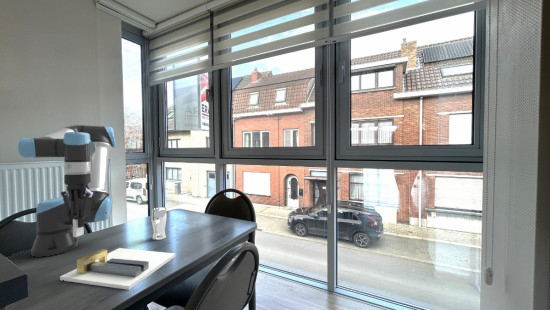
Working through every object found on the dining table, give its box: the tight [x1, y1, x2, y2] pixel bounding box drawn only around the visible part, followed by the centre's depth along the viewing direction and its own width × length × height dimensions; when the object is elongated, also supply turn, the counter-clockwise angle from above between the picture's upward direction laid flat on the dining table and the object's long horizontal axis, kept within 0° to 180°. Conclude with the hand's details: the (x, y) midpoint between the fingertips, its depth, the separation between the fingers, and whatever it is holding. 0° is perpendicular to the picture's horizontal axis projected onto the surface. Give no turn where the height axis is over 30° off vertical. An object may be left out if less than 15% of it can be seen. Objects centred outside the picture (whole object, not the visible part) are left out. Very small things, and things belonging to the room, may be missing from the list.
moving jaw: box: [106, 258, 149, 271], centre depth 85 cm, size 16×2×2 cm, turn 81°
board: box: [59, 247, 176, 291], centre depth 89 cm, size 28×24×1 cm
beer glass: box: [151, 206, 168, 241], centre depth 118 cm, size 7×7×15 cm
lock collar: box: [76, 248, 108, 274], centre depth 86 cm, size 3×9×5 cm, turn 169°
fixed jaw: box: [87, 261, 141, 277], centre depth 83 cm, size 24×2×2 cm, turn 79°
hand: (78, 235), depth 87 cm, fingers closed
